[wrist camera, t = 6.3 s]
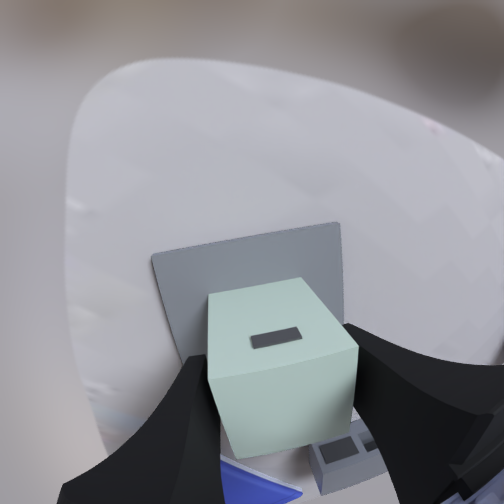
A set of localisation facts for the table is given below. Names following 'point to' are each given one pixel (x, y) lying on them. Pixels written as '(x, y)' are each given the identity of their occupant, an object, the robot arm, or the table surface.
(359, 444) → the power strip
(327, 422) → the block
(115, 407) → the table surface
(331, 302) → the mat
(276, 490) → the blue book
